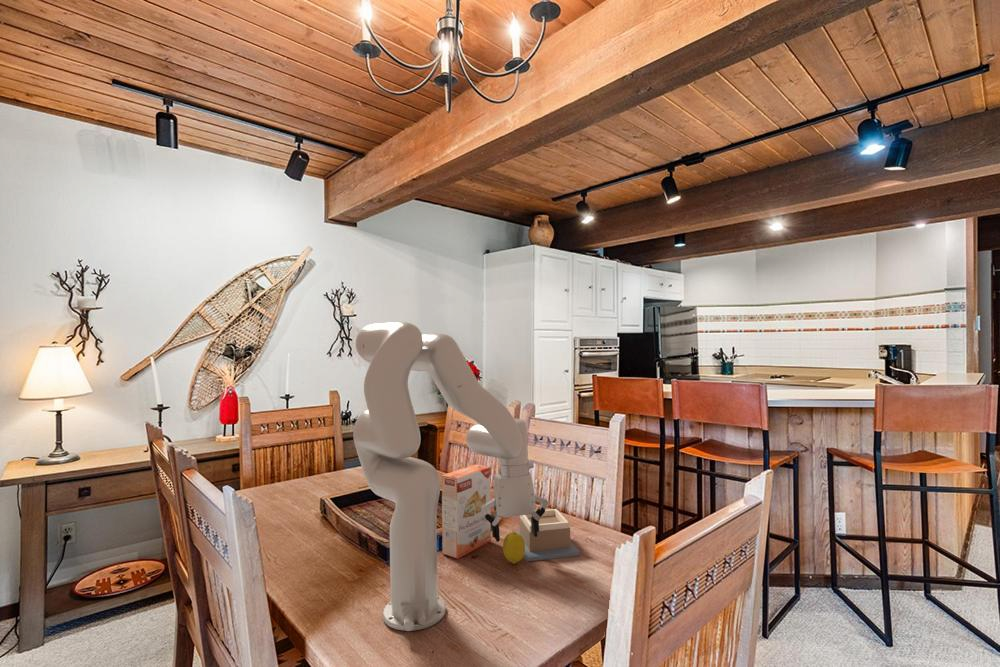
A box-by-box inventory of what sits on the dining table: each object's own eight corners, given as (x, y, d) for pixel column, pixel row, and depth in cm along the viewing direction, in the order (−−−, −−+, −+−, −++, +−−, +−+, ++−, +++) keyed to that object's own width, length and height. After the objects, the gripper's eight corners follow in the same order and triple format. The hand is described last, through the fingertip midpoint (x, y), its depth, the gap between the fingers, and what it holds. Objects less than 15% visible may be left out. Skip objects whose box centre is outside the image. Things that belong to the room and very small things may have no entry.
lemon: (523, 569, 120) (522, 536, 120) (501, 568, 121) (500, 535, 121) (526, 559, 125) (526, 528, 125) (505, 558, 126) (504, 526, 126)
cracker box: (458, 560, 125) (457, 478, 126) (441, 554, 129) (440, 474, 129) (492, 541, 137) (491, 466, 137) (476, 536, 140) (474, 463, 140)
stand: (580, 555, 127) (579, 526, 127) (527, 561, 124) (526, 531, 124) (559, 530, 144) (558, 504, 144) (512, 535, 141) (511, 508, 141)
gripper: (542, 461, 129) (544, 527, 129) (476, 468, 125) (479, 535, 126) (550, 469, 122) (553, 539, 122) (481, 477, 118) (484, 548, 118)
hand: (515, 537), depth 124 cm, fingers open, 9 cm apart
